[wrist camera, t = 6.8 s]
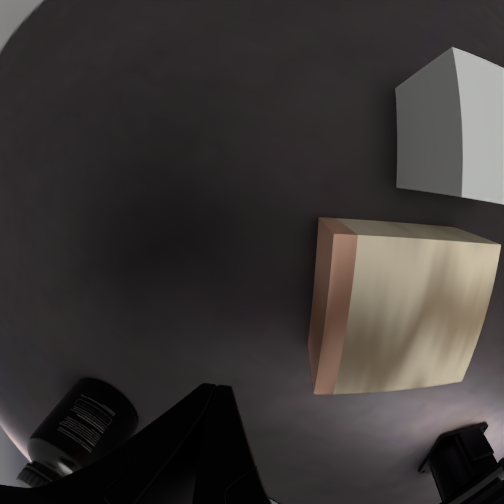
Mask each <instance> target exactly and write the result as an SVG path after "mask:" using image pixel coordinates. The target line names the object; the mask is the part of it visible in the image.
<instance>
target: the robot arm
mask: <svg viewBox="0 0 504 504" xmlns="http://www.w3.org/2000/svg"><path fill="white" fill-rule="evenodd" d="M487 427H488V424H487V423H482V424H479V425H476V426H472V427H469V428H465V429H461V430H458V431H454V432H450V433H446V434H443V435H441V436H440V437H439V438H438V440H437V442H436V443H435V445H434V447H433V448H432V450H431V452H430V453H429V455H428V456H427V458H426V459H425V461H424V462H423V464H422V465H421V467H420V468H419V470H418V472H419V474H424V473H428V472H432V475H433V478H434V480H435V483H436V486H437V489H438V491H439V494H440V497H441V500H442V502H441V503H440V504H504V480H502V481H501V479H502V478H503V477H504V457H503V458H502V459H500V460H499V462H498V463H497V461H496V459H495V457H494V456H493V453H494V451H493V449H492V448H491V446H490V444H489V442H488V441H487V439H486V437H485V436H484V432H485V431H486V429H487ZM0 504H272V502H271V501H270V499H269V497H268V495H267V492H266V490H265V487H264V485H263V482H262V480H261V477H260V474H259V471H258V469H257V466H256V463H255V460H254V457H253V454H252V451H251V448H250V445H249V441H248V438H247V435H246V432H245V429H244V426H243V422H242V419H241V416H240V413H239V409H238V406H237V403H236V399H235V396H234V392H233V389H232V387H231V386H226V385H218V386H216V385H215V384H208V383H203V384H201V385H200V386H198V387H197V388H196V389H195V390H193V391H192V392H191V393H190V394H188V395H187V396H186V397H185V398H183V399H182V400H181V401H179V402H178V403H177V404H176V405H174V406H173V407H172V408H170V409H169V410H168V411H166V412H165V413H164V414H162V415H161V416H160V417H158V418H157V419H156V420H154V421H153V422H152V423H150V424H149V425H148V426H146V427H145V428H144V429H142V430H141V431H139V432H138V433H137V434H135V435H134V436H133V437H131V438H130V439H128V440H127V441H125V442H124V443H123V445H122V444H121V445H120V446H118V447H117V448H115V449H114V450H112V451H111V452H109V453H108V454H106V455H105V456H103V457H101V458H100V459H98V460H96V461H94V462H93V463H91V464H89V465H87V466H85V467H83V468H81V469H79V470H77V471H75V472H73V473H71V474H68V475H66V476H64V477H62V478H60V479H57V480H55V481H53V482H50V483H48V484H45V485H42V486H38V487H30V488H24V487H14V486H6V485H0Z"/></svg>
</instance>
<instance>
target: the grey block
mask: <svg viewBox="0 0 504 504" xmlns="http://www.w3.org/2000/svg"><path fill="white" fill-rule="evenodd" d="M395 93H396V111H397V183H396V188H402V189H410V190H418V191H425V192H432V193H439V194H445V195H452V196H458V197H464V198H470V199H476V200H482V201H488V202H494V203H499V204H504V68H502V67H500V66H498V65H496V64H493V63H491V62H489V61H487V60H484V59H482V58H480V57H477V56H475V55H472V54H470V53H467V52H465V51H462V50H459V49H457V48H454V47H452V48H450V49H449V50H447V51H446V52H444V53H443V54H442V55H440V56H439V57H437V58H436V59H435V60H433V61H432V62H430V63H429V64H428V65H426V66H425V67H423V68H422V69H421V70H419V71H418V72H417V73H415V74H414V75H412V76H411V77H410V78H408V79H407V80H406V81H404V82H403V83H402V84H400V85H399V86H398V87H396V88H395Z"/></svg>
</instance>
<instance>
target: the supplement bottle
mask: <svg viewBox="0 0 504 504" xmlns="http://www.w3.org/2000/svg"><path fill="white" fill-rule="evenodd" d="M136 428H137V418H136V415H135V412H134V410H133V408H132V407H131V405H130V404H129V403H128V402H127V401H126V399H125V398H124V397H122V396H121V395H120V394H119V393H118V392H117V391H115V390H114V389H112V388H111V387H109V386H107V385H105V384H103V383H101V382H98V381H94V380H82V381H79V382H77V383H76V384H75V385H74V386H73V387H72V388H71V389H70V390H69V392H68V393H67V394H66V395H65V396H64V397H63V398H62V400H61V401H60V402H59V403H58V404H57V405H56V407H55V408H54V409H53V410H52V411H51V412H50V414H49V415H48V416H47V417H46V418H45V420H44V421H43V422H42V423H41V424H40V426H39V427H38V428H37V429H36V430H35V432H34V433H33V434H32V435H31V437H30V438H29V440H28V444H27V449H28V453H29V456H30V458H31V460H32V462H31V463H26V464H25V465H24V468H23V470H22V471H21V472H20V474H19V475H18V477H17V481H18V482H19V484H20V485H21V486H22V487H24V488H30V487H38V486H42V485H45V484H48V483H50V482H53V481H55V480H57V479H60V478H62V477H64V476H66V475H68V474H71V473H73V472H75V471H77V470H79V469H81V468H83V467H85V466H87V465H89V464H91V463H93V462H94V461H96V460H98V459H100V458H101V457H103V456H105V455H106V454H108V453H109V452H111V451H112V450H114V449H115V448H117V447H118V446H120V445H121V444H122V445H123V443H124V442H125V441H127V440H128V439H130V438H131V437H133V435H134V433H135V431H136Z"/></svg>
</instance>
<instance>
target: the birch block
mask: <svg viewBox="0 0 504 504" xmlns="http://www.w3.org/2000/svg"><path fill="white" fill-rule="evenodd" d="M500 248H501V245H500V244H498V243H495V242H493V241H490V240H487V239H485V238H482V237H480V236H477V235H474V234H472V233H469V232H466V231H464V230H461V229H458V228H455V227H447V226H436V225H424V224H412V223H400V222H386V221H372V220H357V219H340V218H321V217H319V219H318V237H317V252H316V265H315V278H314V289H313V300H312V310H311V319H310V329H309V337H308V351H309V359H310V367H311V375H312V384H313V392H314V394H353V393H372V392H385V391H396V390H406V389H415V388H423V387H430V386H437V385H444V384H450V383H455V382H461V381H462V380H463V377H464V375H465V372H466V370H467V368H468V365H469V362H470V360H471V357H472V355H473V352H474V349H475V346H476V343H477V341H478V338H479V335H480V331H481V328H482V325H483V322H484V319H485V315H486V312H487V308H488V304H489V301H490V297H491V293H492V288H493V284H494V280H495V275H496V270H497V265H498V260H499V254H500Z"/></svg>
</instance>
